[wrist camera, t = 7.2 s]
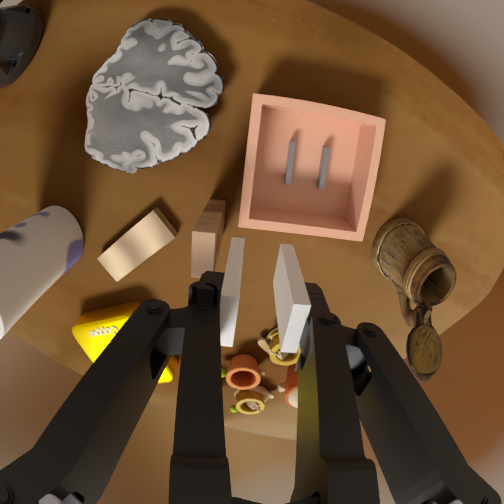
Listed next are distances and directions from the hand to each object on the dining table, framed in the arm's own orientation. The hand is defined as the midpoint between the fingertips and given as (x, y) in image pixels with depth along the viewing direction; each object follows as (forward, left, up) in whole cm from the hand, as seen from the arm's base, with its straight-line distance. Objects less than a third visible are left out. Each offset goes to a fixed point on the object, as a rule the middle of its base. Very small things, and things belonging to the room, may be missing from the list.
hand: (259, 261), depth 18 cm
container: (+8, -30, -19) cm, 36 cm away
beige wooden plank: (+8, -16, -19) cm, 26 cm away
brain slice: (-12, -14, -19) cm, 26 cm away
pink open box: (-5, +5, -19) cm, 20 cm away
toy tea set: (+31, +4, -19) cm, 37 cm away
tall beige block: (+3, -5, -19) cm, 20 cm away
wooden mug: (+7, +21, -19) cm, 29 cm away
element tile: (+27, -19, -19) cm, 39 cm away
